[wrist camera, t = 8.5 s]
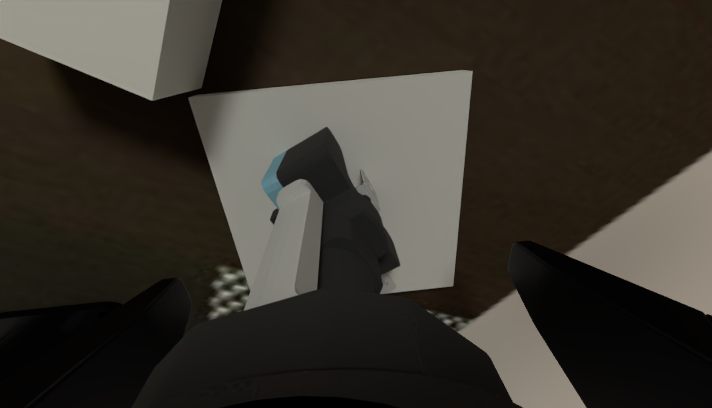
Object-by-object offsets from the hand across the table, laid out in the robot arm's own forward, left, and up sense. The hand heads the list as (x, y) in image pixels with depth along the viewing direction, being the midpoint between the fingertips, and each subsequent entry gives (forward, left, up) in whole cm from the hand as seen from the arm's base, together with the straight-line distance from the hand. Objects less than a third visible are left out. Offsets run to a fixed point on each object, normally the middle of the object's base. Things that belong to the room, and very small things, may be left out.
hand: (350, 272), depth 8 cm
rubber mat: (0, 0, -4) cm, 4 cm away
